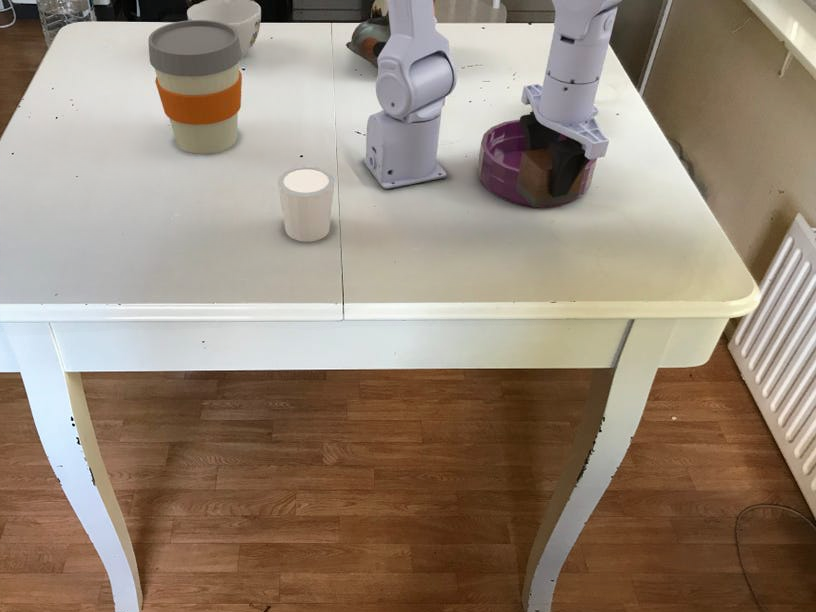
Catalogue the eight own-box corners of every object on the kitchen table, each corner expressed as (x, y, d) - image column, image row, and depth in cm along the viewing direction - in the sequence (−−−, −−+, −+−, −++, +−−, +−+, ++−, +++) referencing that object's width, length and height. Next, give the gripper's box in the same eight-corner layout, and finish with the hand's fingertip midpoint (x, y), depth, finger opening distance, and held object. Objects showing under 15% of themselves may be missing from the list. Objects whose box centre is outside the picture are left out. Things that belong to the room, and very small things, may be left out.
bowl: (510, 218, 97) (517, 184, 93) (458, 161, 107) (462, 129, 104) (611, 197, 101) (621, 163, 97) (551, 144, 111) (558, 112, 107)
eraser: (533, 208, 89) (541, 170, 85) (515, 189, 92) (522, 152, 88) (577, 198, 90) (587, 161, 87) (558, 180, 93) (566, 143, 90)
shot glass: (304, 207, 99) (303, 159, 94) (345, 226, 96) (346, 178, 91) (269, 230, 95) (265, 182, 90) (310, 251, 92) (308, 202, 87)
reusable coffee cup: (252, 119, 116) (244, 19, 106) (245, 160, 107) (235, 55, 97) (171, 119, 116) (154, 19, 106) (157, 160, 107) (138, 55, 97)
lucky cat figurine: (360, 43, 137) (400, -32, 129) (414, 80, 137) (457, 7, 129) (333, 49, 124) (376, -33, 117) (393, 90, 124) (439, 10, 117)
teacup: (191, 44, 137) (185, -3, 131) (260, 39, 138) (257, -7, 133) (194, 79, 126) (188, 31, 121) (268, 74, 128) (265, 26, 122)
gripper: (646, 95, 76) (611, 209, 86) (568, 42, 86) (545, 149, 96) (586, 106, 75) (558, 221, 84) (514, 50, 85) (496, 159, 94)
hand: (547, 184), depth 90 cm, fingers closed on eraser, 4 cm apart
